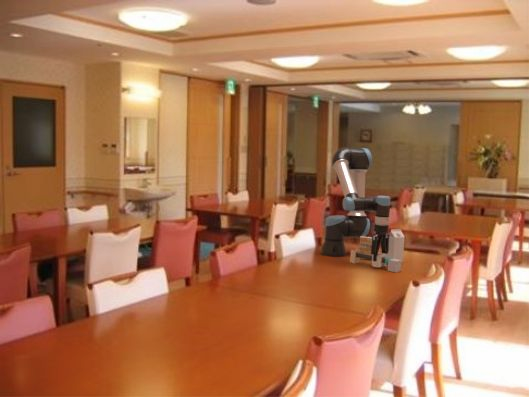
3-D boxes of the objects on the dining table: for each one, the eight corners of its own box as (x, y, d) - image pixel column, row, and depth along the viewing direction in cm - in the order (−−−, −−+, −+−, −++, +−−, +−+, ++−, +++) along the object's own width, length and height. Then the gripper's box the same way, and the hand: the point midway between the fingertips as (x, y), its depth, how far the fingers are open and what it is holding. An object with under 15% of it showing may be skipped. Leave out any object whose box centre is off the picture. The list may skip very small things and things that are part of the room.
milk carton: (385, 260, 330) (387, 228, 329) (395, 260, 334) (397, 228, 332) (392, 263, 324) (395, 230, 322) (402, 262, 327) (405, 230, 325)
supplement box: (358, 259, 332) (359, 237, 330) (359, 257, 336) (360, 235, 335) (372, 260, 329) (374, 238, 328) (373, 259, 334) (374, 237, 333)
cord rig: (350, 262, 321) (350, 250, 320) (355, 261, 324) (355, 249, 323) (395, 272, 300) (396, 259, 300) (400, 271, 304) (401, 258, 303)
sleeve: (371, 265, 310) (372, 253, 309) (378, 264, 314) (379, 252, 314) (379, 267, 306) (380, 255, 306) (386, 265, 311) (386, 253, 310)
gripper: (377, 226, 298) (374, 269, 301) (397, 223, 312) (394, 265, 315) (365, 224, 304) (362, 267, 306) (385, 222, 317) (382, 262, 320)
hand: (378, 265), depth 310 cm, fingers closed on sleeve, 6 cm apart
